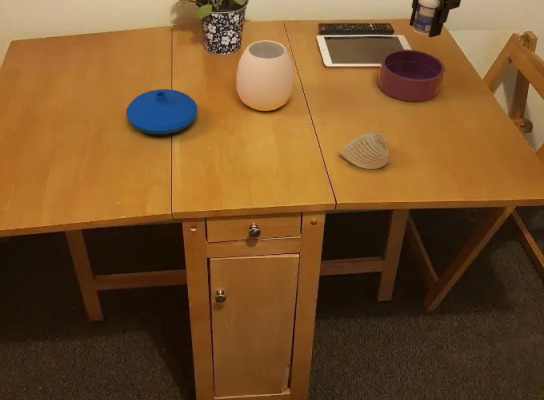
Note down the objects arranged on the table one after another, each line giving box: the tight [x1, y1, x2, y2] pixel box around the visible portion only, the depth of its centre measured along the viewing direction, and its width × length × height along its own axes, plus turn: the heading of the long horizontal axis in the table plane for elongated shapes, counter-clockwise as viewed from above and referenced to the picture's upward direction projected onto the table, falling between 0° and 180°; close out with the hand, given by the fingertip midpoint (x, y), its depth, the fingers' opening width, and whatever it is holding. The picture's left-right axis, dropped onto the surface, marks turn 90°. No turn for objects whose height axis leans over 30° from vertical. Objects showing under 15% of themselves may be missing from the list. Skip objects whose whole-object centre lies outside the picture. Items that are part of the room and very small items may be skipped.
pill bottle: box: [412, 0, 440, 37], centre depth 125 cm, size 5×5×10 cm
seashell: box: [339, 131, 391, 170], centre depth 119 cm, size 8×8×8 cm
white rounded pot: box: [235, 39, 295, 112], centre depth 132 cm, size 13×13×14 cm
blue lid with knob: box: [125, 88, 198, 135], centre depth 128 cm, size 16×16×7 cm
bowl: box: [377, 49, 446, 103], centre depth 139 cm, size 14×14×6 cm
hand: (424, 29), depth 128 cm, fingers closed on pill bottle, 5 cm apart
